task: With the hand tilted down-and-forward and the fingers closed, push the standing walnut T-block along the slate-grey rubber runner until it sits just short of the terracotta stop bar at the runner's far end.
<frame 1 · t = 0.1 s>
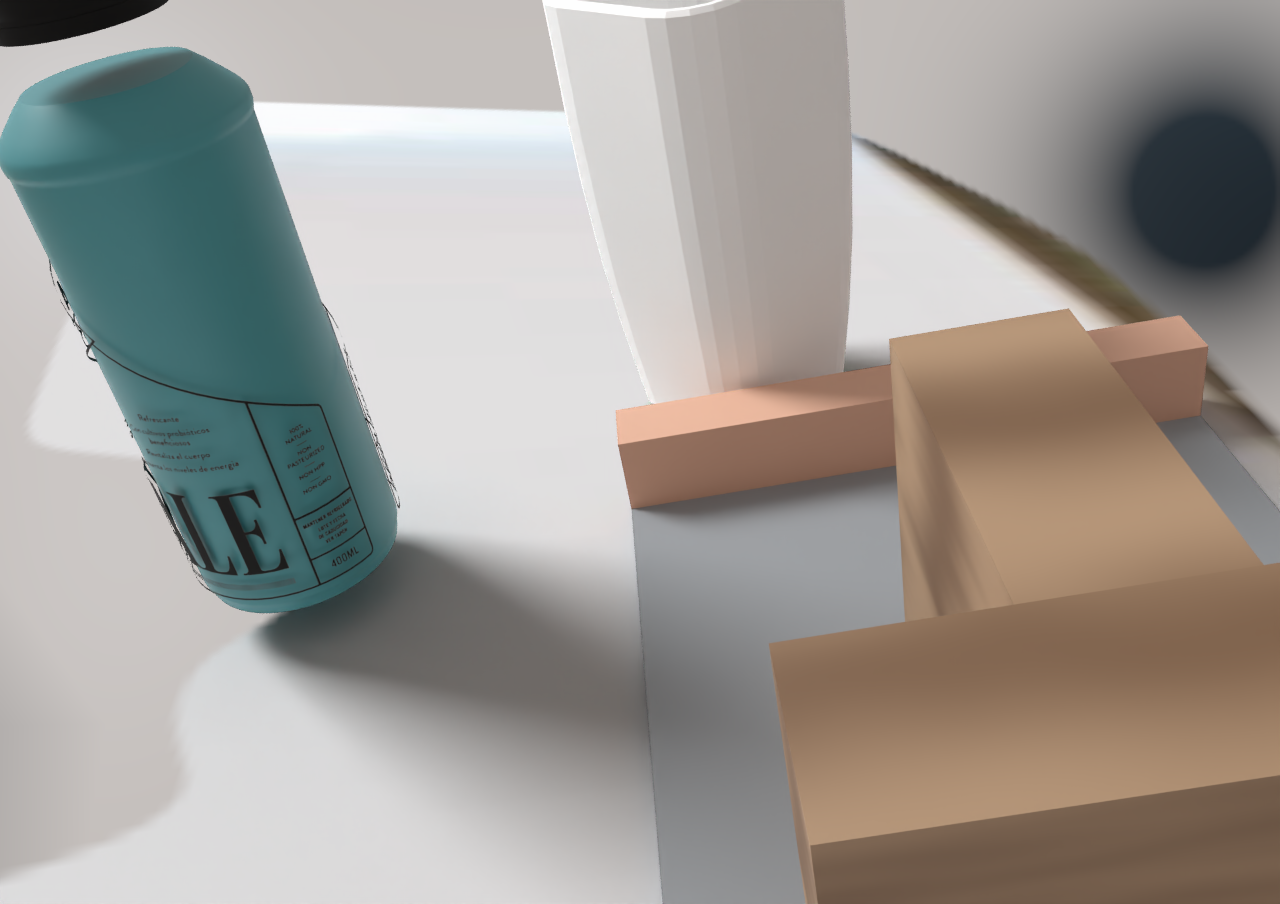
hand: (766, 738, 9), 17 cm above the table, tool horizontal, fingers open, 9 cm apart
runner mat: (1016, 716, 30), on the table
cup: (746, 401, 44), on the table
teal bottle: (320, 591, 39), on the table
t block: (1066, 821, 27), resting on runner mat
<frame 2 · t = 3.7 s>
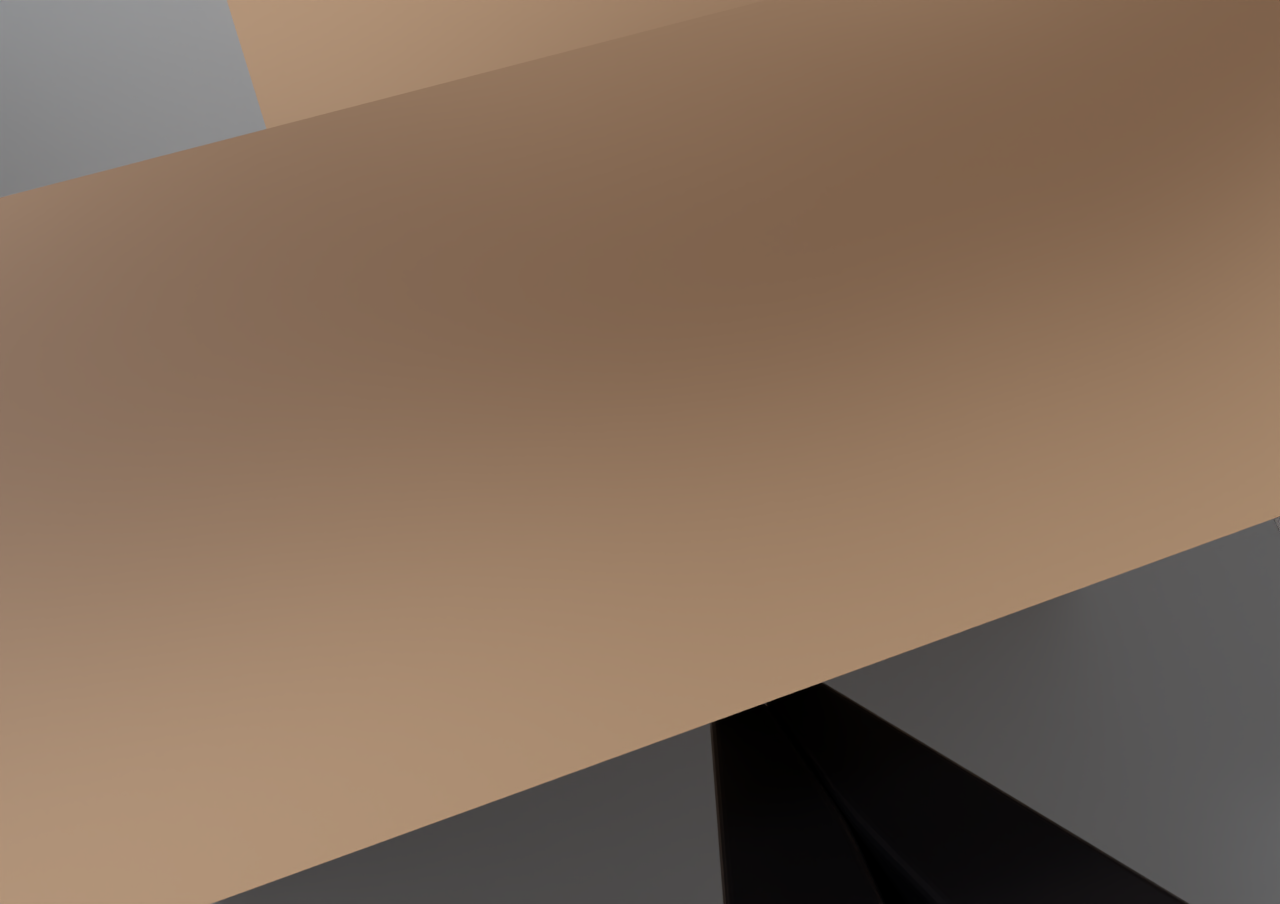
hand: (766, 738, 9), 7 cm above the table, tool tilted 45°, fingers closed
runner mat: (469, 191, 17), on the table
t block: (497, 262, 17), resting on runner mat
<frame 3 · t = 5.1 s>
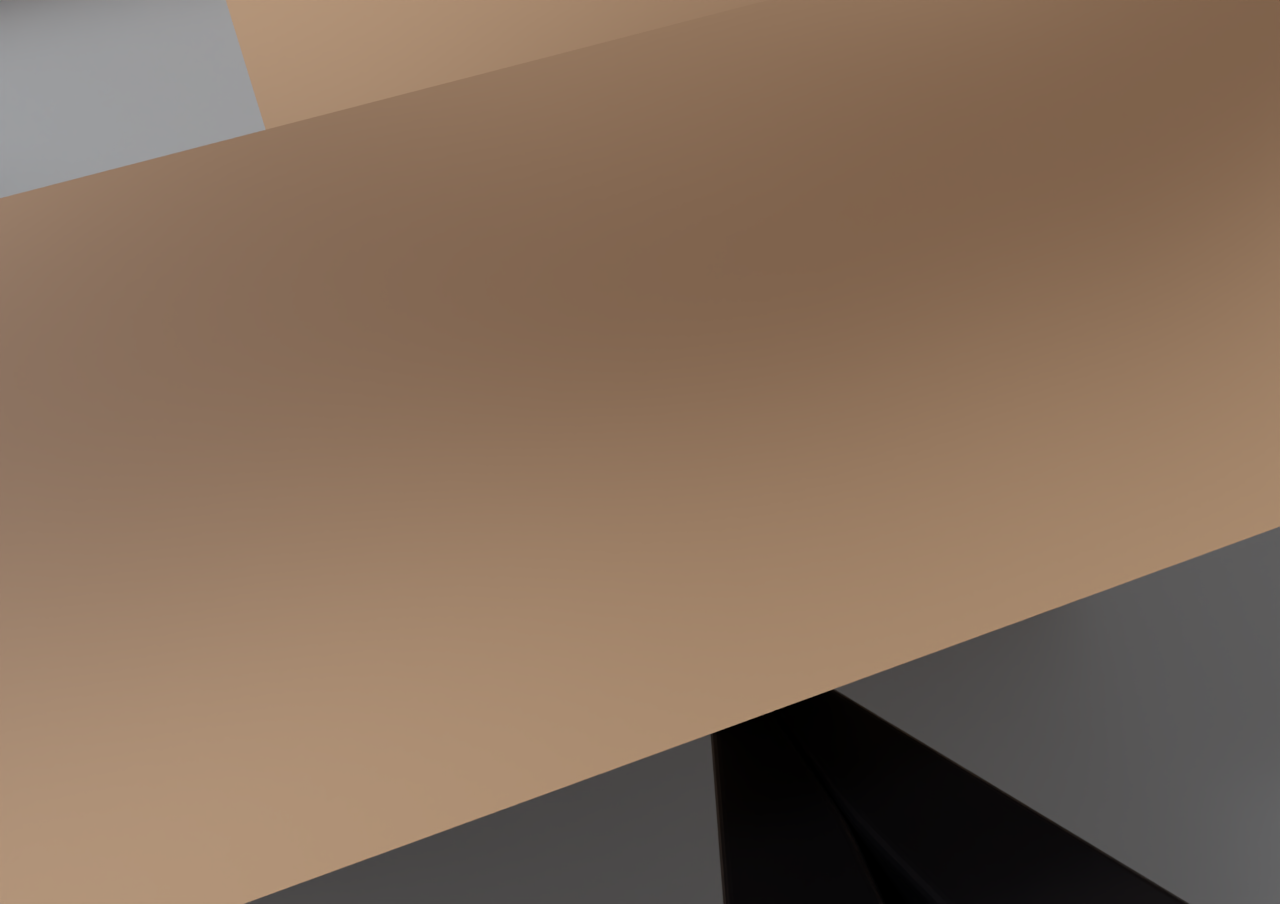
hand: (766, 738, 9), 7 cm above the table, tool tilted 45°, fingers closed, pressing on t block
runner mat: (581, 516, 16), on the table
t block: (497, 261, 16), resting on runner mat, touching gripper
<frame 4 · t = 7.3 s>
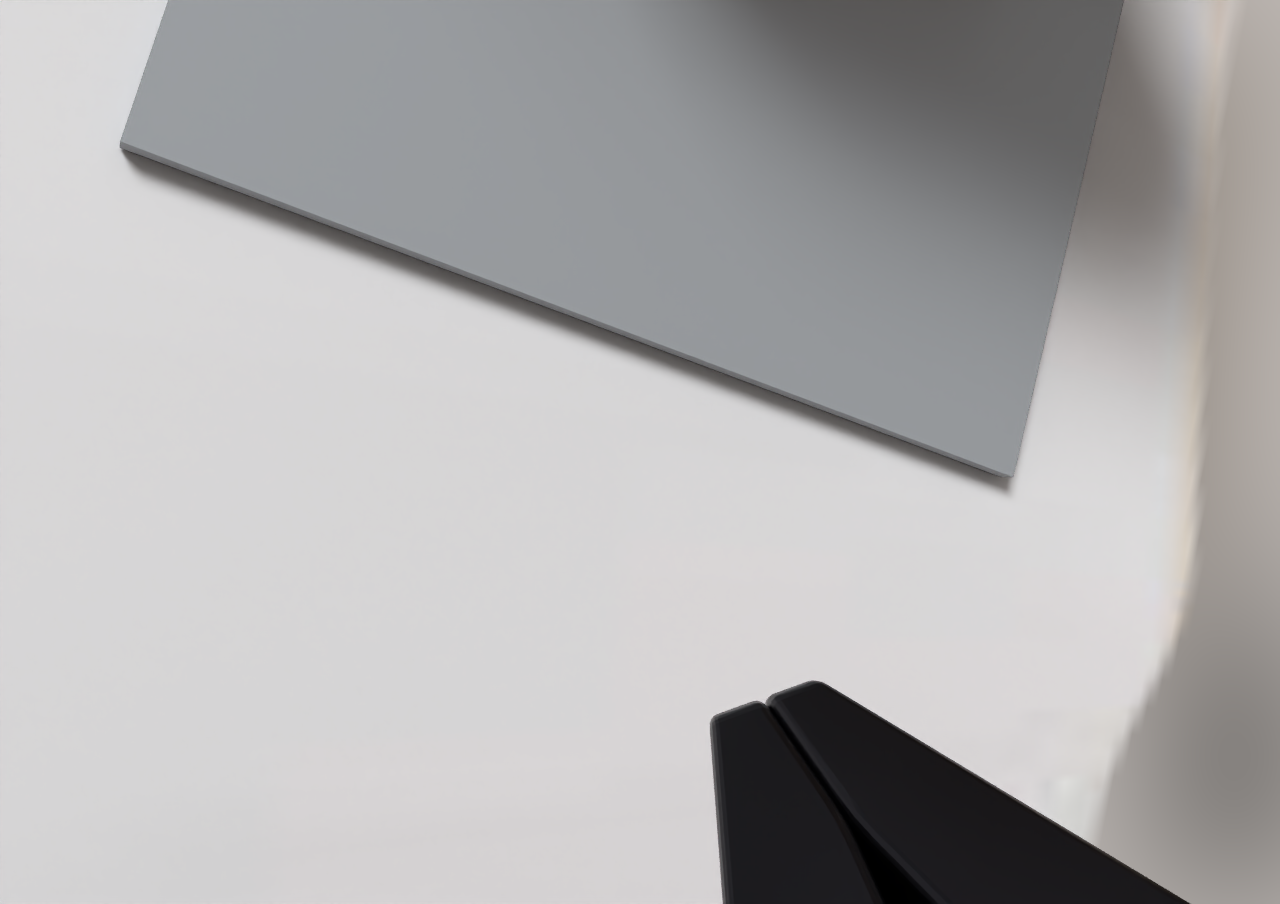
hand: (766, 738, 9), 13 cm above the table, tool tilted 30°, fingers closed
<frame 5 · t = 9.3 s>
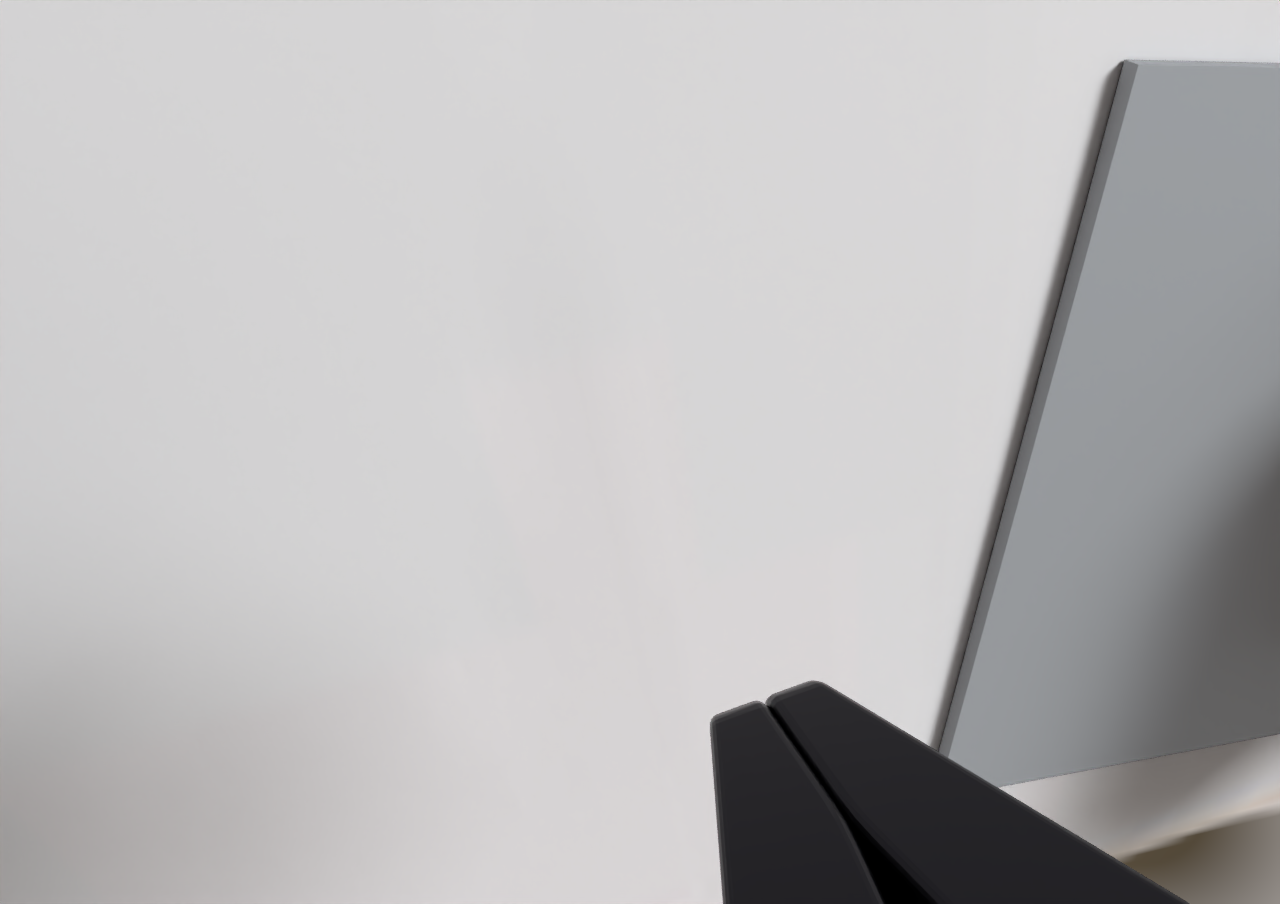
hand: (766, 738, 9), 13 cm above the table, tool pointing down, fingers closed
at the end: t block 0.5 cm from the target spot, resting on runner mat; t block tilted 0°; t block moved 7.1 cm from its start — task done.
